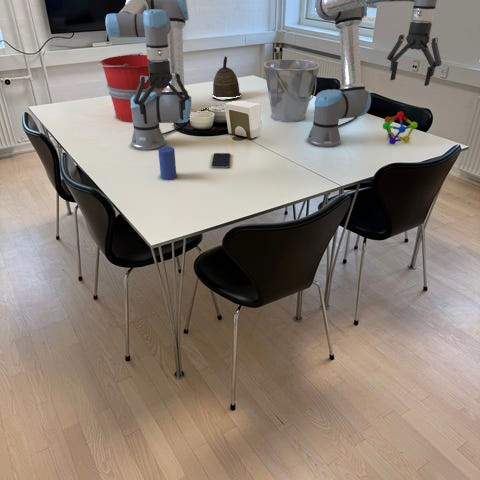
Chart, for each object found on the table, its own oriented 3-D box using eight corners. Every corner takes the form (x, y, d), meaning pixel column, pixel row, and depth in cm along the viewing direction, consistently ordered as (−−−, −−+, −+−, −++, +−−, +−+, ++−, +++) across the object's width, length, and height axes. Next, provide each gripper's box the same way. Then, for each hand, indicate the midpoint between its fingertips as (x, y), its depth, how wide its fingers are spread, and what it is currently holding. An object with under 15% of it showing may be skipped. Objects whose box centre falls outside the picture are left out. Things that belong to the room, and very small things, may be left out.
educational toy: (377, 146, 209) (379, 114, 202) (384, 138, 219) (386, 107, 211) (411, 149, 202) (415, 116, 195) (417, 141, 212) (420, 109, 204)
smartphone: (211, 166, 183) (213, 153, 196) (211, 167, 184) (213, 154, 196) (229, 166, 183) (230, 153, 196) (229, 168, 184) (230, 154, 196)
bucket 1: (116, 106, 262) (108, 51, 246) (175, 107, 261) (171, 52, 245) (98, 124, 233) (88, 63, 217) (164, 125, 232) (159, 64, 216)
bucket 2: (289, 128, 228) (292, 72, 213) (250, 116, 247) (251, 63, 232) (326, 117, 245) (332, 64, 230) (287, 106, 263) (290, 56, 249)
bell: (227, 105, 294) (202, 96, 282) (238, 66, 289) (213, 55, 277) (243, 108, 280) (217, 98, 268) (255, 66, 275) (229, 55, 263)
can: (160, 180, 173) (157, 152, 167) (161, 173, 179) (159, 146, 172) (175, 179, 174) (173, 152, 168) (177, 173, 179) (174, 146, 173)
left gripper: (123, 64, 146) (131, 127, 157) (196, 59, 154) (199, 120, 165) (120, 60, 152) (128, 121, 163) (190, 56, 160) (193, 114, 171)
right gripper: (384, 19, 165) (375, 79, 176) (452, 25, 151) (437, 89, 162) (393, 18, 169) (383, 76, 181) (460, 23, 155) (445, 85, 167)
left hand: (163, 120), depth 164 cm, fingers open, 13 cm apart
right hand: (409, 82), depth 171 cm, fingers open, 13 cm apart
